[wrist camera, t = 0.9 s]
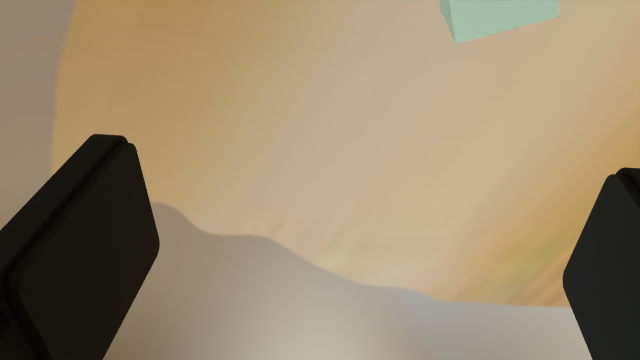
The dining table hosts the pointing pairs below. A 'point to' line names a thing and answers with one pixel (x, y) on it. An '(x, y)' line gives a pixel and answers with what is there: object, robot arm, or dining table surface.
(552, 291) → the dining table surface
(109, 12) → the dining table surface
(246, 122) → the dining table surface
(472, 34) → the sage block
